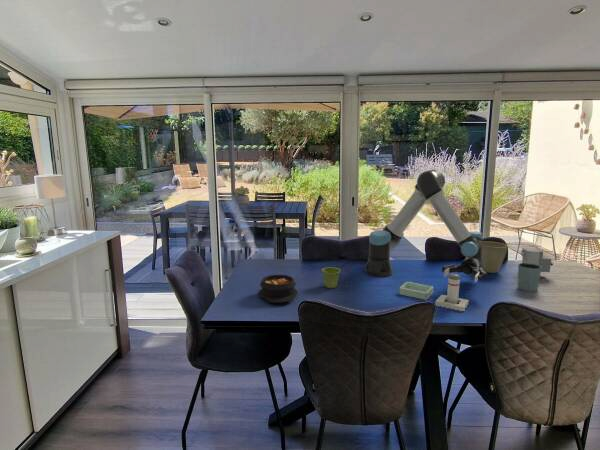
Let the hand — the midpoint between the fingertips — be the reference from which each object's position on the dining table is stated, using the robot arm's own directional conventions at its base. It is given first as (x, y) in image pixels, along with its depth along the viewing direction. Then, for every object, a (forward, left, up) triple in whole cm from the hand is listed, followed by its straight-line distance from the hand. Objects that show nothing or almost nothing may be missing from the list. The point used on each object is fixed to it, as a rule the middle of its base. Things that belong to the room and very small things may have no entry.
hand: (459, 276), depth 181 cm
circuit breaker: (+27, +59, -11) cm, 66 cm away
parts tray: (-19, -5, -11) cm, 22 cm away
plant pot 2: (+5, +55, -11) cm, 57 cm away
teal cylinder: (+25, +34, -11) cm, 44 cm away
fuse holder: (-1, -10, -11) cm, 14 cm away
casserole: (-72, -46, -11) cm, 86 cm away
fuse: (-1, -10, -11) cm, 14 cm away
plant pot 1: (-58, -20, -11) cm, 62 cm away
